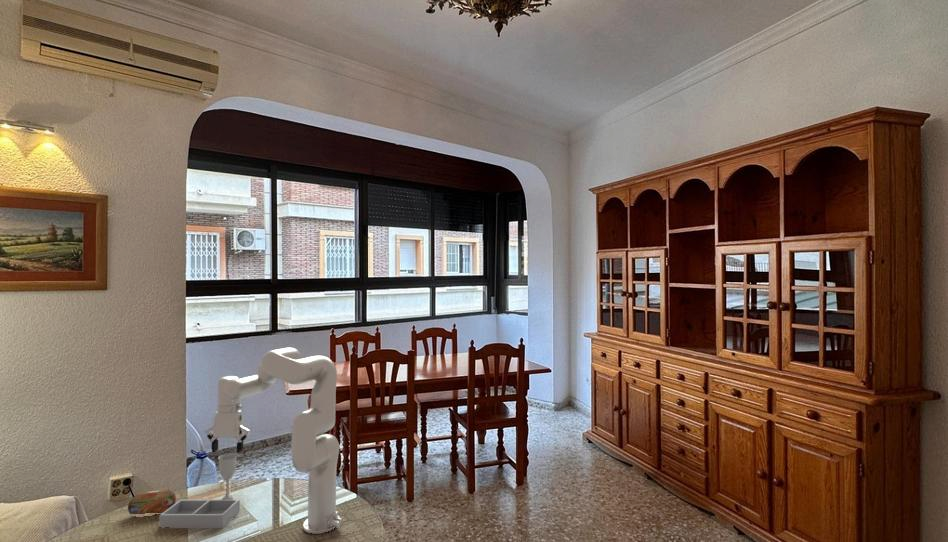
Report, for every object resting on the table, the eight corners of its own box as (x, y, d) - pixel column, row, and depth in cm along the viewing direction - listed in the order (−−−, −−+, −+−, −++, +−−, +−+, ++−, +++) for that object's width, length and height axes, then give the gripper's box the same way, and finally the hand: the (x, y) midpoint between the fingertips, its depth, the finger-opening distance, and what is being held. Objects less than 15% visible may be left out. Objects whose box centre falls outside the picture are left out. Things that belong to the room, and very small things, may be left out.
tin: (127, 519, 168) (127, 495, 168) (131, 514, 171) (131, 492, 171) (173, 513, 172) (174, 490, 172) (176, 509, 175) (177, 487, 175)
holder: (239, 511, 173) (239, 499, 173) (222, 528, 162) (222, 515, 162) (180, 511, 173) (180, 499, 173) (159, 528, 162) (159, 515, 162)
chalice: (230, 506, 177) (231, 459, 177) (213, 506, 177) (214, 459, 178) (240, 497, 184) (241, 452, 185) (224, 497, 184) (224, 452, 185)
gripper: (254, 405, 185) (253, 448, 185) (211, 405, 185) (210, 447, 185) (245, 411, 178) (244, 455, 178) (201, 410, 178) (199, 454, 178)
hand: (227, 451), depth 181 cm, fingers open, 9 cm apart
